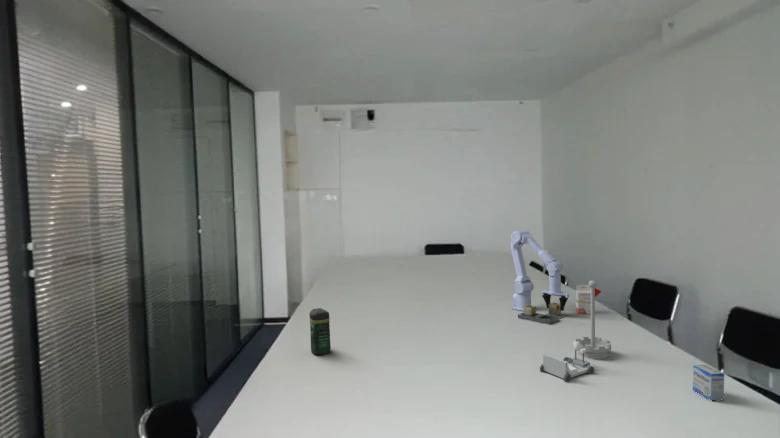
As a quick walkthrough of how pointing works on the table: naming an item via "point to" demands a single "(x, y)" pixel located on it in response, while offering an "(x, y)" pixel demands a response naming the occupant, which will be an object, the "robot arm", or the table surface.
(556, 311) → the gold knob block
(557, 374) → the toy car
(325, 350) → the coffee jar
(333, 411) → the table surface
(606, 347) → the flag stand
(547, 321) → the grey flat rectangular frame
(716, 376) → the medicine box
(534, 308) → the gold drawer
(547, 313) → the slate mat
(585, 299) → the ink cartridge box
